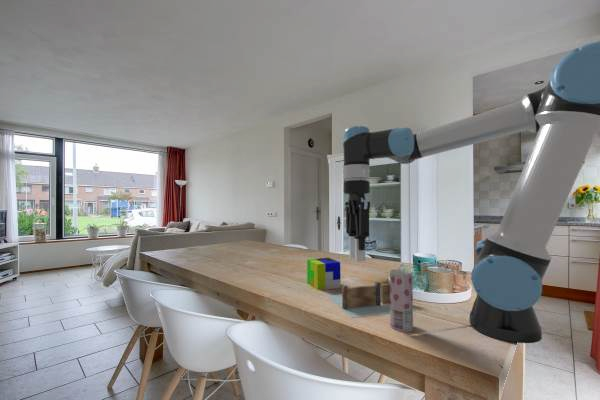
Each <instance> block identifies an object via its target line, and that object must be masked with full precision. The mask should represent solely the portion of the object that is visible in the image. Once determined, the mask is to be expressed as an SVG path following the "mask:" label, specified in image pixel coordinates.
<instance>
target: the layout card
mask: <svg viewBox="0 0 600 400" xmlns="http://www.w3.org/2000/svg"><path fill="white" fill-rule="evenodd" d="M327 297H328V298H329V299H330V300H331V301H333V303H334V304H336V305H337V306H338V307H339V308H340V309H341V310H343V311H344V312H345V313H346V314H347V315H348V316H350V318H352V319H355V318H362V317H369V316H370V317H371V316H378V315H385V314H390V303H387V304H382V303H381V305H380V306H377V305H370V306H361V307H352V308H346V309H345V308H342V293H339V294H330V295H327ZM417 310H418V308H417V307H414V306H413V311H417Z"/></svg>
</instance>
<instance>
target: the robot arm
mask: <svg viewBox="0 0 600 400" xmlns="http://www.w3.org/2000/svg"><path fill="white" fill-rule="evenodd" d="M525 131H528V132H531V133H537V134H536V136H535V139H534V141H533V143H532V146H531V149H530V151H529V153H528V156H527V158H526V161H525V162H524V166H523V168H522V171H521V173H520V175H519V179H518V180H517V182H516V184H515V188H514V191H513V193H512V194H511V195H512V196H511V198H510V201H509V202H508V205H507V207H506V210H505V212H504V214H503V217H502V220H501V222H500V225H499V227H498V230H497V231H496V232H494V233H491V234H489V235H487V236H486V238H485V240H484V239H483V240H478V241H477V242H476V244H475V245H476V247H475V253H476V255H475V256H476V258H475V261H476V262H475V265H474V266H473V268H472V270H471V277H470V279H471V283H472V286H473V289H474V290H475V292H476V297H475V299H474V302H473V305H472V308H471V311H470V312H469V325H470V326H471V327H472V328H473V329H474V330H475V331H477V332H479V333H481V334H483V335H485V336H488V337H491V338H495V339H497V340H501V341H505V342H510V343H517V344H534V343H537V342H538V343H539V342H541V340H542V339H543V337H542V336H543V334H542V333H543V332H542V326H541V324H540V323H539V319H538V317H537V314H536V310H535V309H534V307H533V306H534V305H535V304H536V303H537V302H538V301H539V299H540V298H541V296H542V293H543V290H542V289H543V288H544V287H543V278H544V276H545V274H546V272H547V270H548V267H549V265H550V263H551V261H552V257H551V255H550V253H549V252H548V250H547V245H548V243H549V241H550V239H551V236H552V234H553V232H554V230H555V228H556V225H557V223H558V221H559V218H560V216H561V214H562V211H563V209H564V207H565V206H566V205H565V204H566V202H567V200H568V198H569V196H570V194H571V191H572V189H573V187H574V184H575V182H576V180H577V178H578V176H579V173H580V170H581V169H582V167H583V164H584V162H585V160H586V158H587V155H588V152H589V151H590V148H591V146H592V144H593V142H594V139H595V137H596V135H597V134H598V133H599V132H600V41H594V42H590V43H587V44H584V45H581V46H579V47H578V48H574V49H573V50H571V51H570V52H568V53H567V54H565V56H564V57H562V58H561V59H560V60H559V62H558V63H557V64H556V65H555V66H554V67H553V69H552V71H551V73H550V78H549V81H548V83H547V84H546V86H544V87H543V88H540V89H539V90H536V91H533V92H531V93H528V94H525V95H524V96H523V97H522V98H521V99H520V100H518V101H516V102H513V103H510V104H509V103H508V104H507V105H503V106H499V107H497V108H494V109H490V110H487V111H484V112H480V113H477V114H475V115H472V116H468V117H466V118H462V119H458V120H456V121H452V122H448V123H446V124H442V125H440V126H436V127H433V128H429V129H426V130H424V131H419V132H416V133H414V132H413V130H412V129H411V128H410V127H406V126H405V127H395V128H392V129H385V130H384V129H383V130H379V131H373V132H371V131H370V128H369V127H367V126H364V125H359V126H357V125H356V126H355V125H354V126H349V127H347V128H346V129H345V130H344V131H343V141H342V146H343V173H342V174H343V180H344V182H343V193H344V194H346V195H348V196H349V197H348V201H345V202H344V205H345V229H346V230H345V231H346V232H345V233H346V234H347V235H348V239H349V240H348V243H349V244H348V245H349V249H348V250H349V252H348V253H349V255H348V256H349V257H348V258H349V259H355V262H358V263H359V262H366V239H367V238H369V237H370V208H371V201H367V200H366V195H365V194H369V193H370V192H371V188H370V187H371V186H370V185H371V183H370V181H369V179H370V173H371V169H370V160H375V159H385V158H387V159H390V160H393V161H395V162H397V163H398V164H404V165H409V164H411V163H413V162H414V161H415V160H420V159H422V158H425V157H429V156H433V155H437V154H440V153H445V152H448V151H453V150H457V149H460V148H464V147H467V146H472V145H475V144H480V143H483V142H487V141H491V140H494V139H499V138H503V137H506V136H509V135H514V134H518V133H521V132H525Z"/></svg>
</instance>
